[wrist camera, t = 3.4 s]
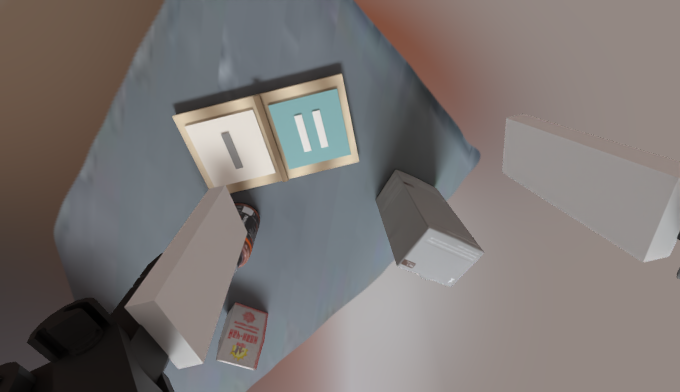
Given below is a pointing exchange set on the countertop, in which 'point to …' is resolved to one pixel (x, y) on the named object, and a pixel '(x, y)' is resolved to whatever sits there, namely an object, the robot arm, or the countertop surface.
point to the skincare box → (425, 230)
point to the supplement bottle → (251, 225)
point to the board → (272, 129)
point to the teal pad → (311, 128)
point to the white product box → (242, 336)
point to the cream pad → (231, 148)
